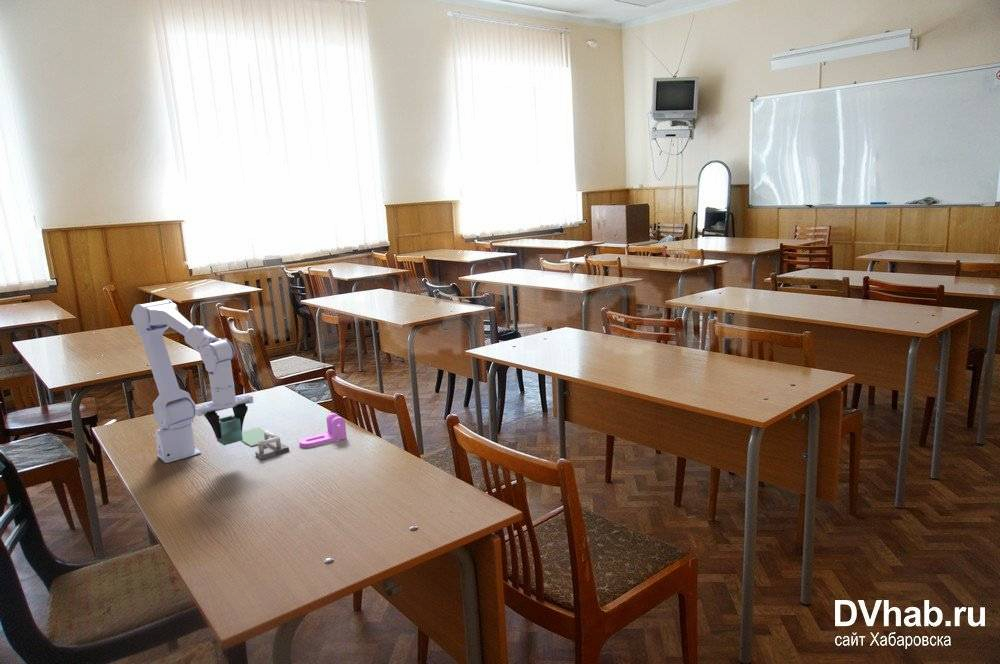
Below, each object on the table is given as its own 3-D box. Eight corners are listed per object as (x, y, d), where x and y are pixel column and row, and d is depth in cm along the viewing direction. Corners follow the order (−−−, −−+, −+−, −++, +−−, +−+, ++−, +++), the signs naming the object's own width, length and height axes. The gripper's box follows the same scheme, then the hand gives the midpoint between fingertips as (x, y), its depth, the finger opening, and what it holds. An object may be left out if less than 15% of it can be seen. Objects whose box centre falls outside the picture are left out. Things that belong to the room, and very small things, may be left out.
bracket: (340, 433, 201) (338, 411, 200) (346, 439, 196) (344, 416, 195) (297, 444, 194) (294, 421, 193) (302, 449, 190) (300, 426, 188)
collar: (224, 445, 175) (220, 423, 174) (217, 440, 179) (214, 419, 178) (242, 440, 179) (239, 418, 177) (235, 435, 182) (232, 414, 181)
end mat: (251, 446, 194) (251, 445, 193) (232, 435, 204) (232, 434, 204) (277, 439, 199) (277, 437, 199) (258, 428, 209) (258, 427, 209)
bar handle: (261, 459, 183) (259, 444, 183) (245, 449, 192) (243, 434, 191) (289, 451, 189) (287, 436, 188) (271, 441, 197) (270, 427, 196)
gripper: (199, 395, 168) (206, 446, 171) (255, 382, 178) (261, 430, 180) (189, 390, 173) (197, 439, 176) (244, 377, 183) (251, 425, 186)
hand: (229, 434), depth 179 cm, fingers closed on collar, 5 cm apart
